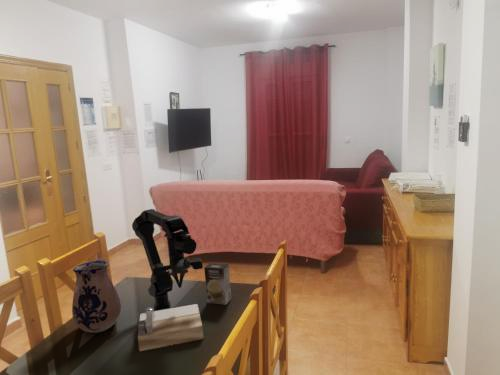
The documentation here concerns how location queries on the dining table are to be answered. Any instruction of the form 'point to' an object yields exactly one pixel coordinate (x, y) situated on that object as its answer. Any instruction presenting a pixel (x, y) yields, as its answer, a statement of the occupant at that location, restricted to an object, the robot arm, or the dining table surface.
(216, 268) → the coffee box
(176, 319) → the stepped wooden block
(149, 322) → the bar
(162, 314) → the jamb
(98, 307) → the ceramic pitcher
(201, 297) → the dining table surface
